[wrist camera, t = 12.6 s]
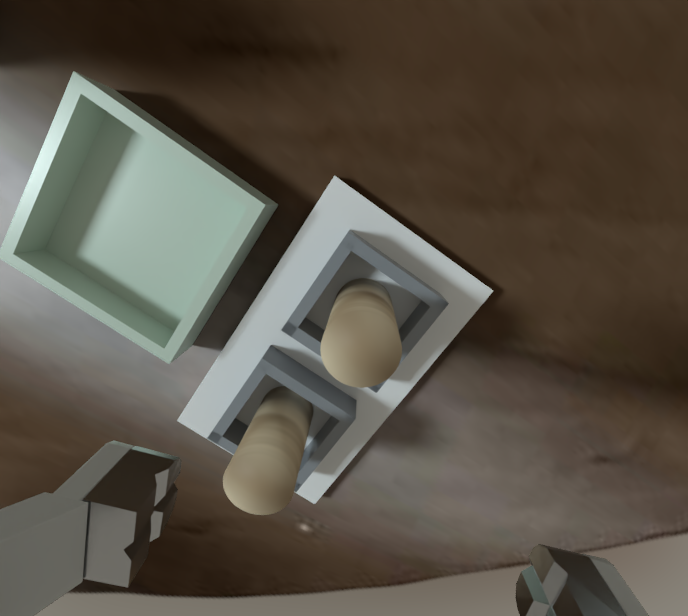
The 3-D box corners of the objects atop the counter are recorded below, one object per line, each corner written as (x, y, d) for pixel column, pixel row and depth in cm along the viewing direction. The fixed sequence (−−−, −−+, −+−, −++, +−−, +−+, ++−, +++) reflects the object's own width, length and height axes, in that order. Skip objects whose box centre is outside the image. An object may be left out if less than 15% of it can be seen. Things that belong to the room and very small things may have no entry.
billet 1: (295, 441, 29) (269, 526, 22) (251, 414, 29) (210, 491, 21) (323, 404, 28) (307, 479, 21) (278, 376, 28) (245, 442, 20)
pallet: (316, 495, 32) (310, 529, 28) (182, 413, 30) (160, 440, 27) (488, 287, 26) (506, 300, 23) (335, 176, 25) (331, 172, 22)
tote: (192, 345, 29) (169, 364, 25) (42, 250, 27) (-3, 257, 24) (278, 204, 26) (265, 204, 22) (114, 89, 24) (73, 71, 21)
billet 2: (357, 344, 27) (353, 401, 19) (322, 301, 26) (304, 343, 19) (403, 311, 26) (418, 358, 18) (368, 266, 25) (368, 295, 18)
